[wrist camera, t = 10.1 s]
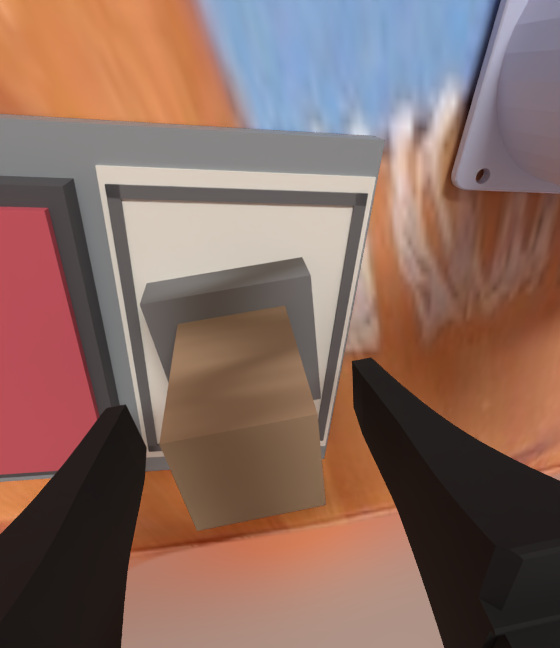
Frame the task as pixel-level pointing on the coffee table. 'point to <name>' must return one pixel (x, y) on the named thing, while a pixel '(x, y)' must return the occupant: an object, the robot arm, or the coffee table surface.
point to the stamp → (239, 390)
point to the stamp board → (154, 259)
